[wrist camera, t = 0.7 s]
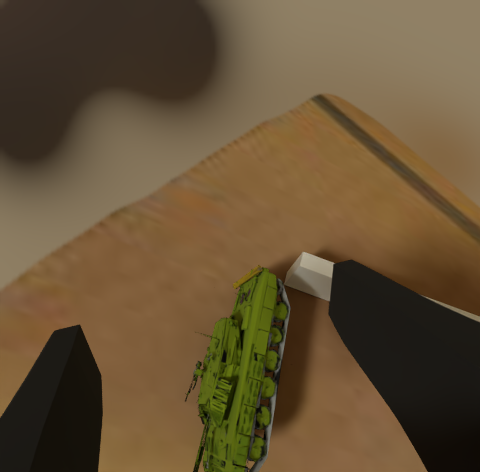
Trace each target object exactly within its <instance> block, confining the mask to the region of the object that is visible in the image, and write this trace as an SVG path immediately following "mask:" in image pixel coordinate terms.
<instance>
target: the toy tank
mask: <svg viewBox="0 0 480 472" xmlns="http://www.w3.org/2000/svg"><path fill="white" fill-rule="evenodd" d="M268 272H269V269H267V268H263V267H262V268H261V266H259V265H258V266H257V267H256V268H254V269H253V270H251V271H250V272H249V273H248V274H246V275H245V276H244V277H242V278H241V279H240V280H238V281H237V282H236V283H234V284H233V287H234V289H237V287H239V286H240V290H239V292H238V295H237V298H236V302H235V305H234V309H233V312H232V315H231V316H230V318H221V319H220V320H219V321H218V322H216V324H215V327H214V331H213V335H212V336H210V337H211V342H210V346H209V347H208V349H207V351H208V354H206V357H205V359H204V364H203V368H204V369H203V370H202V369H201V370H200V366H201V365H202V364H201V363H202V362H200V361H198V363H197V364H196V368H197V370H196V369H195V370H196V371H195V370H194V373H195V374H194V373H193V374H194V376H193V377H195V376H196V377H195V378H193V379H195V380H193V381H195V385H196V382H197V380H196V379H197V378H198V376H201V377H200V378H202V381H201V387H200V394H199V396H198V397H199V399H198V400H199V401H198V404H199V407H198V408H199V413H200V414H199V415H198V416H200V417H201V420H202V423H203V424H205V427H204V431H203V435H202V439H201V443H200V446H199V450H198V455H197V459H196V462H195V467H194V471H193V472H195V471H196V472H198V469H199V465H200V462H201V459H202V455H203V451H204V447H205V452H204V457H203V466H204V471H205V472H208V471H209V472H248V469H249V468H248V467H246V460H247V459H248V460H249V461H254V462H255V464H254V465H253V466H252V468H251V469H249V470H250V471H249V472H258V471H259V470H260V468H261V467H262V465H263V463H264V462H265V460H266V459H267V455H268V449H269V442H270V436H271V429H272V423H273V416H274V410H275V403H276V397H277V390H278V383H279V377H280V370H281V363H282V357H283V351H284V345H285V338H286V332H287V326H288V320H289V314H290V309H291V308H290V305H289V301H288V298H287V295H286V292H285V288H284V285H283V282H282V281H281V280H279V279H276V275H274V274H272V273H268ZM258 273H259V274H258ZM257 274H258V276H257ZM255 275H256V276H255ZM252 277H254V278H252ZM251 278H252V279H251ZM249 279H251V280H250V281H248V280H249ZM214 288H215V287H214ZM277 295H280V297H281V301H282V303H281V301H279V302H277ZM271 321H272V326H271ZM281 321H283V324H282V327H281V326H280V325H279V326H280V327H279V326H276V325H275V324H274V325H273V322H281ZM196 333H197V332H196ZM200 335H201V333H200ZM203 335H205V334H203ZM207 337H208V335H207ZM267 345H268V350H266V348H267ZM278 345H279V346H278ZM269 346H271V347H275V346H278V352H277V351H276V350H274V349H273V351H272V350H269ZM276 352H277V354H276ZM262 371H263V373H262ZM265 371H266V372H272V371H274V373H273V379H272V378H271V377H270V376H269V377H268V376H264V373H265ZM202 373H203V375H202ZM196 374H197V375H196ZM193 381H192V382H193ZM191 385H192V383H191ZM195 385H194V387H195ZM191 387H192V386H190V388H191ZM194 387H193V390H194ZM189 390H190V391H191V389H189ZM190 391H188V393H187V396H188V394H189V393H190ZM257 398H258V401H257ZM268 398H269V406H268V407H267V406H264V405H261V404H260V399H262V400H266V399H268ZM186 399H187V397H186ZM186 401H187V400H185V402H186ZM206 426H207V428H206ZM252 427H253V428H252ZM264 427H265V428H264ZM205 428H206V429H205ZM262 428H264V429H265V432H264V439H263V438H262V437H260V436H258V435H255V434H254V431H255V429H259V430H261V429H262ZM264 429H263V430H264ZM205 430H206V432H205ZM204 432H205V433H206V435H205V436H204V434H205V433H204ZM203 436H204V437H205V439H204V440H205V441H204V440H203V438H204V437H203ZM202 440H203V441H204V442H205V443H203V444H204V445H203V444H202V442H203V441H202ZM202 445H203V446H204V447H203V446H202ZM201 446H202V447H201ZM200 449H201V451H200ZM199 453H200V455H199ZM198 457H199V459H198ZM197 462H198V463H197ZM247 463H248V461H247ZM196 466H197V467H196Z"/></svg>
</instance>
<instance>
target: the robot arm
mask: <svg viewBox="0 0 480 472" xmlns="http://www.w3.org/2000/svg"><path fill="white" fill-rule="evenodd" d="M328 314H329V316H330V318H331V320H332V322H333V324H334V326H335V328H336V330H337V332H338V333H339V335H340V337H341V339H342V341H343V342H344V344H345V346H346V347H347V348H348V350H349V351H350V353H351V354H352V356H353V357H354V358H355V360H356V361H357V363H358V364H359V366H360V367H361V368H362V370H363V371H364V373H365V374H366V375H367V377H368V378H369V379H370V381H371V382H372V384H373V385H374V386H375V388H376V389H377V391H378V392H379V393H380V395H381V396H382V398H383V399H384V400H385V402H386V403H387V405H388V406H389V407H390V409H391V410H392V412H393V413H394V415H395V416H396V418H397V420H398V421H399V423H400V424H401V426H402V428H403V429H404V431H405V433H406V434H407V436H408V438H409V440H410V441H411V443H412V445H413V446H414V448H415V450H416V452H417V453H418V455H419V457H420V458H421V460H422V462H423V464H424V466H425V468H426V469H427V471H428V472H480V322H478V321H476V320H474V319H471V318H469V317H466V316H464V315H462V314H460V313H458V312H455V311H453V310H451V309H449V308H447V307H444V306H442V305H440V304H438V303H436V302H434V301H432V300H430V299H428V298H426V297H424V296H422V295H420V294H418V293H416V292H414V291H412V290H410V289H408V288H406V287H404V286H402V285H400V284H398V283H396V282H394V281H393V280H391V279H389V278H387V277H385V276H383V275H381V274H379V273H377V272H375V271H374V270H372V269H370V268H368V267H366V266H364V265H362V264H360V263H358V262H356V261H354V260H348V261H344V262H340V263H335V264H333V273H332V283H331V293H330V303H329V313H328ZM102 416H103V408H102V380H101V374H100V371H99V369H98V367H97V364H96V362H95V359H94V357H93V355H92V352H91V350H90V347H89V345H88V343H87V340H86V338H85V336H84V333H83V331H82V328H81V326H80V325H76V326H72V327H68V328H63V329H59V330H55V331H54V332H53V334H52V335H51V337H50V338H49V340H48V342H47V343H46V345H45V347H44V348H43V350H42V352H41V353H40V355H39V357H38V358H37V360H36V362H35V364H34V365H33V367H32V369H31V370H30V372H29V373H28V375H27V377H26V378H25V380H24V382H23V383H22V385H21V386H20V388H19V390H18V391H17V393H16V394H15V396H14V397H13V399H12V401H11V402H10V404H9V405H8V407H7V408H6V410H5V412H4V413H3V415H2V416H1V418H0V472H98V465H99V453H100V441H101V429H102Z"/></svg>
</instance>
